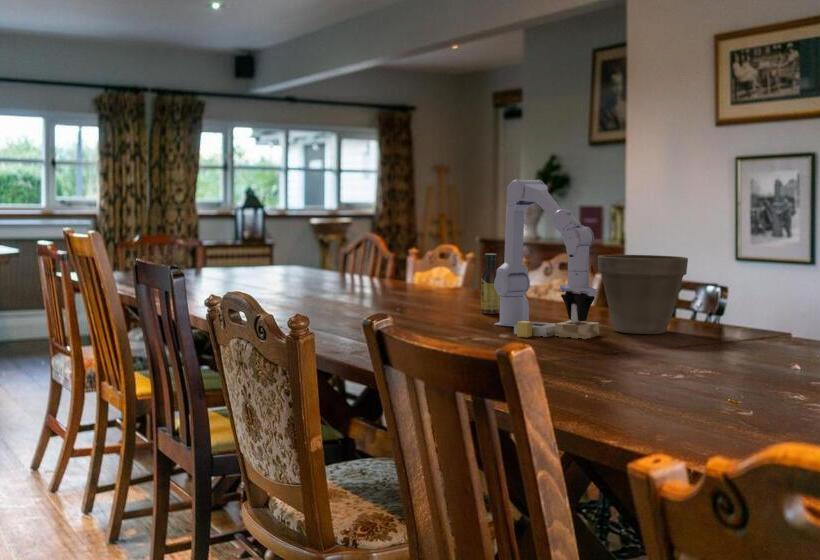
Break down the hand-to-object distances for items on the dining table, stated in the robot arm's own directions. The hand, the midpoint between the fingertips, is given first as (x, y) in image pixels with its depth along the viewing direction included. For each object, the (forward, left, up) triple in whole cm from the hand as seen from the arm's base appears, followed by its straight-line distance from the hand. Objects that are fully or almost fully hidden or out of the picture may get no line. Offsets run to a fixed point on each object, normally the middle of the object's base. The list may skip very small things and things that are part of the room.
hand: (577, 320), depth 263 cm
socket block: (+2, -11, -4) cm, 12 cm away
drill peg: (0, 0, -4) cm, 4 cm away
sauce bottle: (-32, -46, -5) cm, 56 cm away
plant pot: (-19, +11, -5) cm, 22 cm away
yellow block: (+9, -12, -4) cm, 15 cm away
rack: (0, 0, -4) cm, 4 cm away
